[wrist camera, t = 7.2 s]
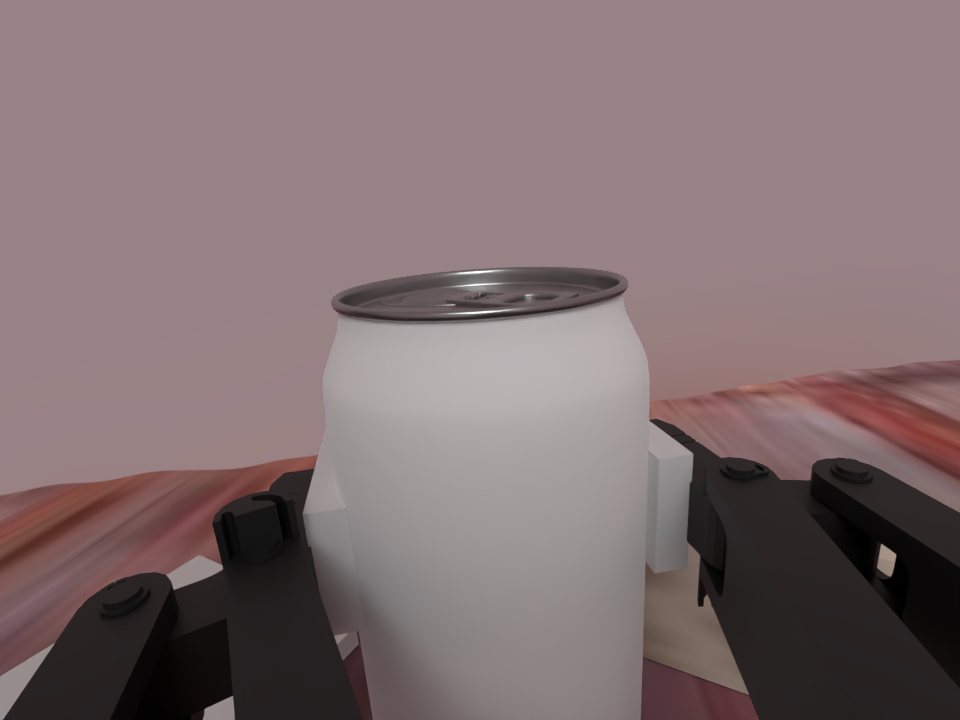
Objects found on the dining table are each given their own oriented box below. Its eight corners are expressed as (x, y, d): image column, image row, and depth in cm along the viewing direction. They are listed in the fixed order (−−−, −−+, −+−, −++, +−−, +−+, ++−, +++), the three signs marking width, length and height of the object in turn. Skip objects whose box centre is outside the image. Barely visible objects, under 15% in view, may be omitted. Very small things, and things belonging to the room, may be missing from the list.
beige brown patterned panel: (414, 575, 27) (399, 456, 25) (440, 549, 29) (427, 437, 27) (928, 759, 17) (966, 576, 15) (914, 698, 18) (946, 531, 17)
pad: (-100, 763, 19) (-110, 742, 19) (203, 569, 29) (199, 554, 29) (33, 983, 13) (20, 957, 13) (358, 644, 23) (355, 626, 23)
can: (478, 614, 18) (450, 264, 14) (671, 706, 14) (693, 264, 11) (328, 787, 13) (231, 305, 9) (569, 1000, 9) (552, 332, 6)
